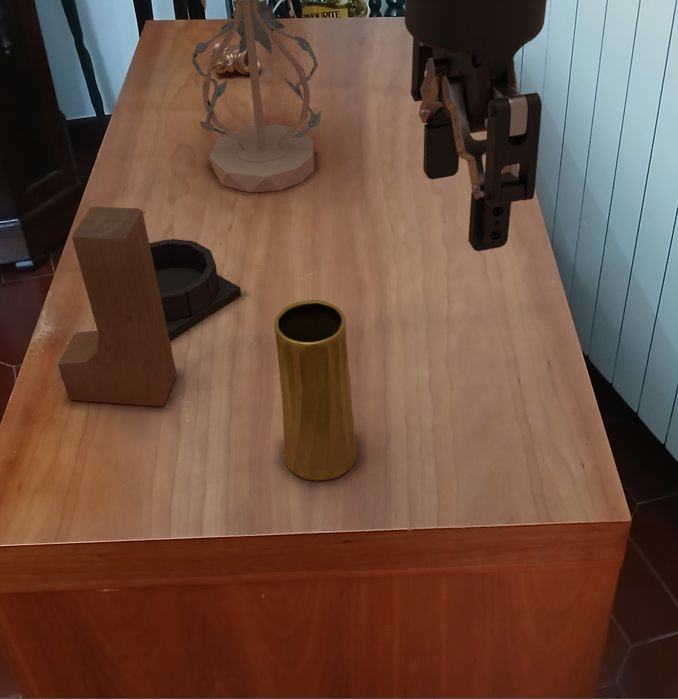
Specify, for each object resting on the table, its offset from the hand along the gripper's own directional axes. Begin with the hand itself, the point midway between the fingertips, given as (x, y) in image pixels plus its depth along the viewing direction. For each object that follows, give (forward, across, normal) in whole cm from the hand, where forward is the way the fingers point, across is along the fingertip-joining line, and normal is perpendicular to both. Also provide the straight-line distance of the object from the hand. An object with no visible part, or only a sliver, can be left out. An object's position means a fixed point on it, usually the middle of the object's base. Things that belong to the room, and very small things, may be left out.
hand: (462, 208), depth 58 cm
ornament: (+25, -81, -4) cm, 85 cm away
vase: (+25, -5, -9) cm, 27 cm away
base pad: (+25, -30, -19) cm, 43 cm away
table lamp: (+25, -53, -5) cm, 59 cm away
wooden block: (+25, -18, -25) cm, 40 cm away
